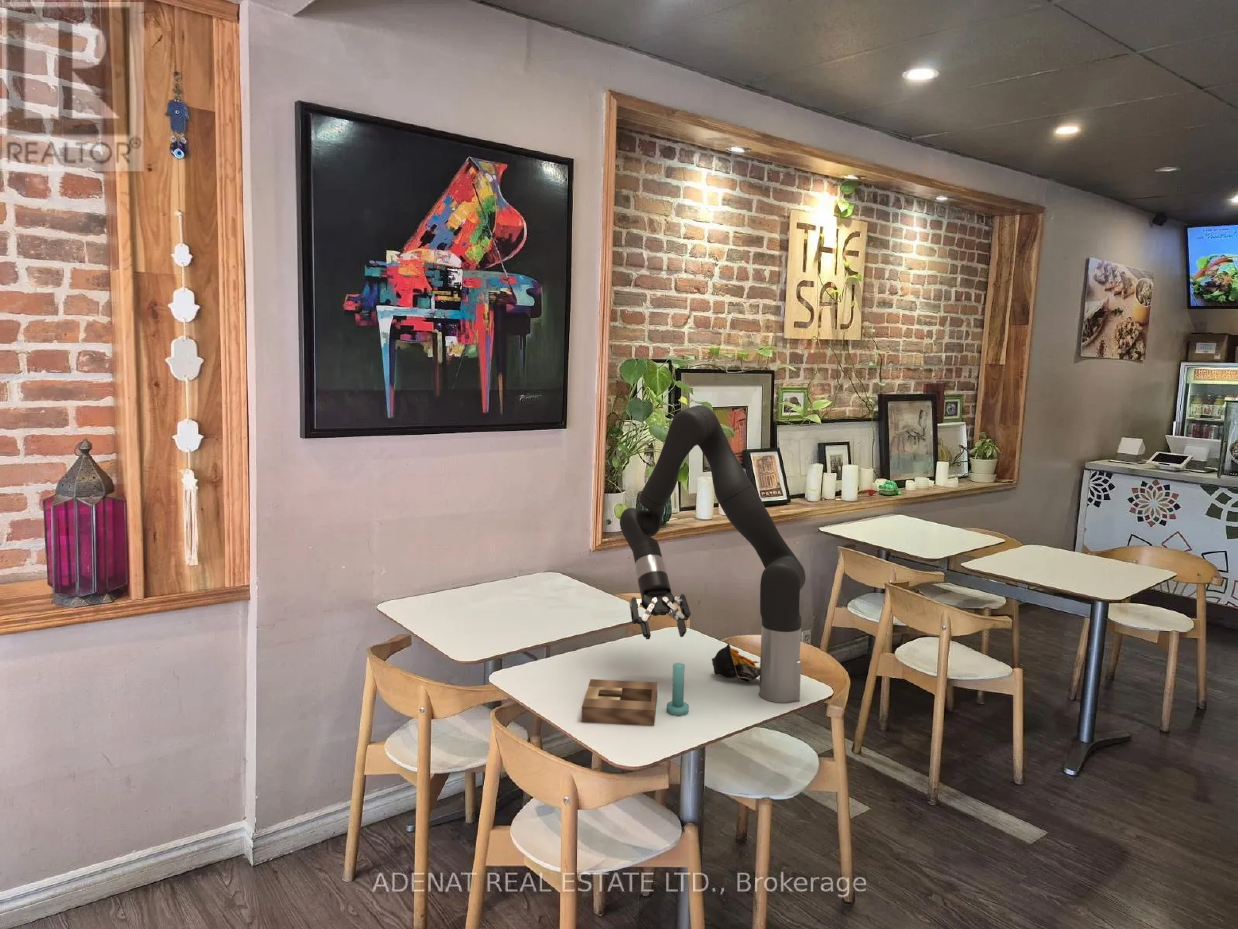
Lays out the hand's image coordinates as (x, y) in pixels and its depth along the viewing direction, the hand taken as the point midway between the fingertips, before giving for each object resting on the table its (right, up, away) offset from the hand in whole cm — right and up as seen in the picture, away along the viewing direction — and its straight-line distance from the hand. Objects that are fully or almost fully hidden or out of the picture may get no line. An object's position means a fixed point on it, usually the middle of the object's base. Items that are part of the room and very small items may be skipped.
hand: (665, 636), depth 195 cm
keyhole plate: (-11, -15, -6) cm, 20 cm away
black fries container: (+21, -14, +12) cm, 28 cm away
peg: (+2, -16, -8) cm, 17 cm away
